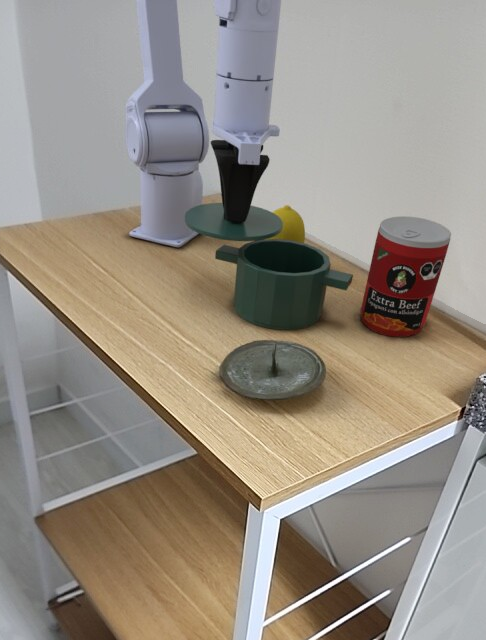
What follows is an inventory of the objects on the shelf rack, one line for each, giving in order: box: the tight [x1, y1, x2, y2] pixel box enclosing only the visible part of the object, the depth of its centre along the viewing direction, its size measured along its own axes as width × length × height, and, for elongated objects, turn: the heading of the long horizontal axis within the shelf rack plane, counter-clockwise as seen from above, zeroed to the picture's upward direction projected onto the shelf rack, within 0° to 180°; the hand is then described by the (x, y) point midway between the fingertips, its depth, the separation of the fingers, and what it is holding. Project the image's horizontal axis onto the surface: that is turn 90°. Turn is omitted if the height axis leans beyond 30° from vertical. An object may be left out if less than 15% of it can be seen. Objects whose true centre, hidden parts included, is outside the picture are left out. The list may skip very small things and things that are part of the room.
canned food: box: [360, 215, 452, 338], centre depth 72 cm, size 8×8×11 cm
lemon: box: [264, 204, 306, 243], centre depth 83 cm, size 6×6×8 cm
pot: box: [214, 239, 354, 331], centre depth 74 cm, size 10×16×6 cm, turn 67°
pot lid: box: [185, 202, 283, 242], centre depth 72 cm, size 11×11×5 cm
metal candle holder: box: [218, 339, 327, 402], centre depth 62 cm, size 11×10×5 cm
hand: (234, 216), depth 72 cm, fingers closed on pot lid, 2 cm apart
